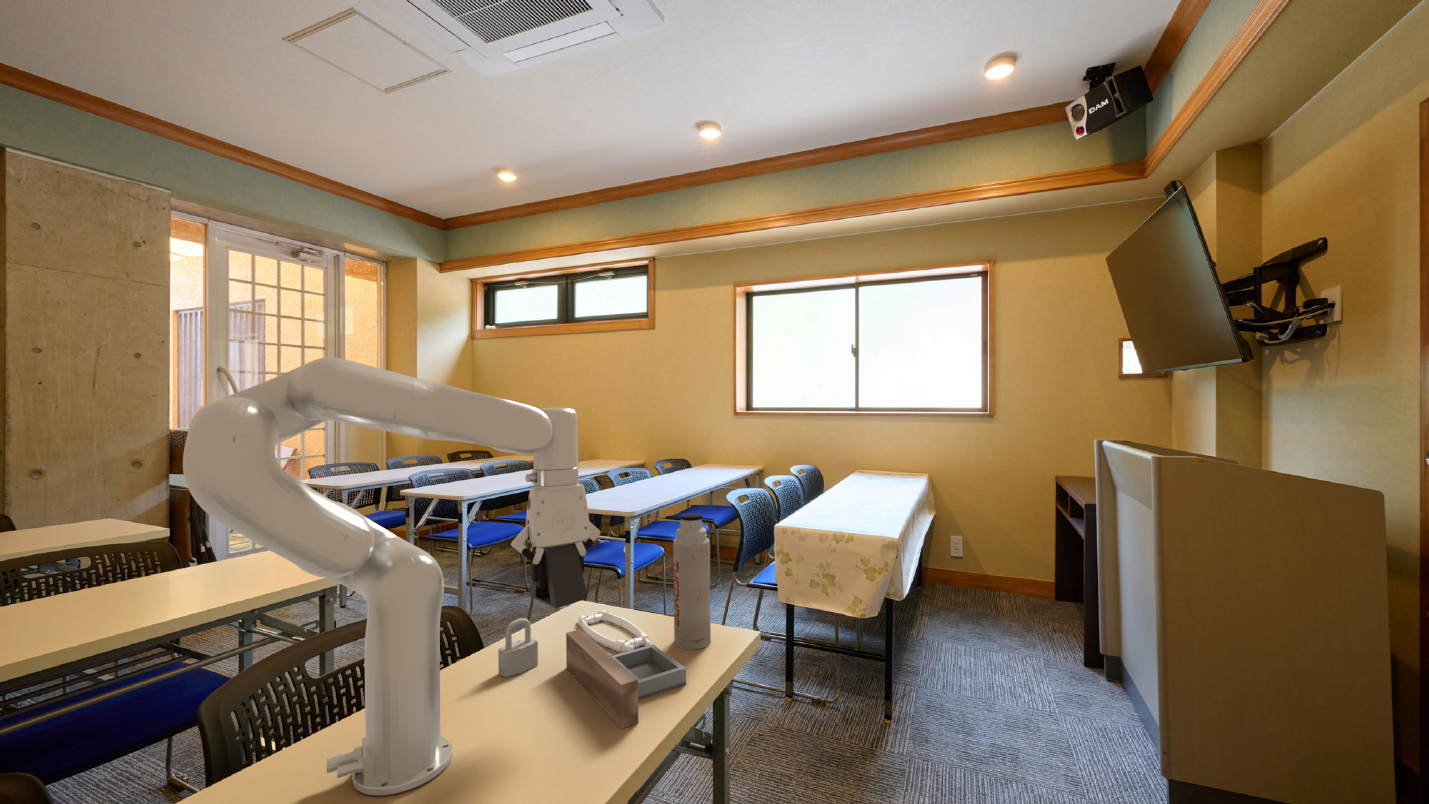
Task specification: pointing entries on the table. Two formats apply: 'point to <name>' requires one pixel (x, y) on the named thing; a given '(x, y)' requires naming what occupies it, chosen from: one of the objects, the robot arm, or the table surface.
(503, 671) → the padlock
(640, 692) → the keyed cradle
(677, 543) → the thermos bottle
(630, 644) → the door handle
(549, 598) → the door stopper
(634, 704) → the board
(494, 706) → the table surface
